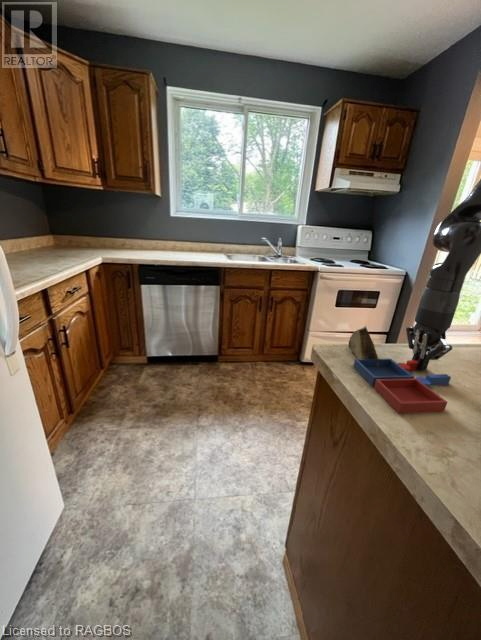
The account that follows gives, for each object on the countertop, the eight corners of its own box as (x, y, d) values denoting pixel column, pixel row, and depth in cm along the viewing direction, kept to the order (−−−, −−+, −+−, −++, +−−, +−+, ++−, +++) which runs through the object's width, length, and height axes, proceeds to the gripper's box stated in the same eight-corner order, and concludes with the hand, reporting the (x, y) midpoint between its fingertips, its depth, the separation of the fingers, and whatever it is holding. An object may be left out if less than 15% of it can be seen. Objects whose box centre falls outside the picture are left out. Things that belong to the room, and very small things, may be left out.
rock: (339, 337, 83) (338, 346, 74) (362, 319, 79) (363, 325, 70) (366, 364, 81) (367, 376, 72) (390, 346, 78) (395, 356, 69)
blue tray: (388, 366, 73) (391, 358, 72) (411, 385, 65) (414, 376, 64) (353, 367, 72) (354, 359, 71) (371, 386, 63) (374, 377, 63)
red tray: (413, 387, 64) (416, 378, 63) (444, 411, 56) (447, 402, 55) (373, 388, 63) (375, 379, 62) (398, 413, 55) (401, 403, 54)
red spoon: (420, 365, 74) (422, 358, 73) (429, 371, 71) (431, 364, 70) (393, 365, 73) (395, 358, 72) (401, 372, 70) (403, 364, 69)
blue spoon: (440, 379, 68) (443, 372, 67) (451, 387, 65) (454, 379, 64) (411, 380, 67) (413, 372, 66) (420, 388, 64) (423, 380, 63)
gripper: (475, 316, 61) (451, 382, 67) (429, 299, 73) (412, 356, 79) (445, 316, 60) (423, 383, 66) (404, 299, 72) (388, 356, 78)
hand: (417, 368), depth 72 cm, fingers closed on red spoon, 1 cm apart
